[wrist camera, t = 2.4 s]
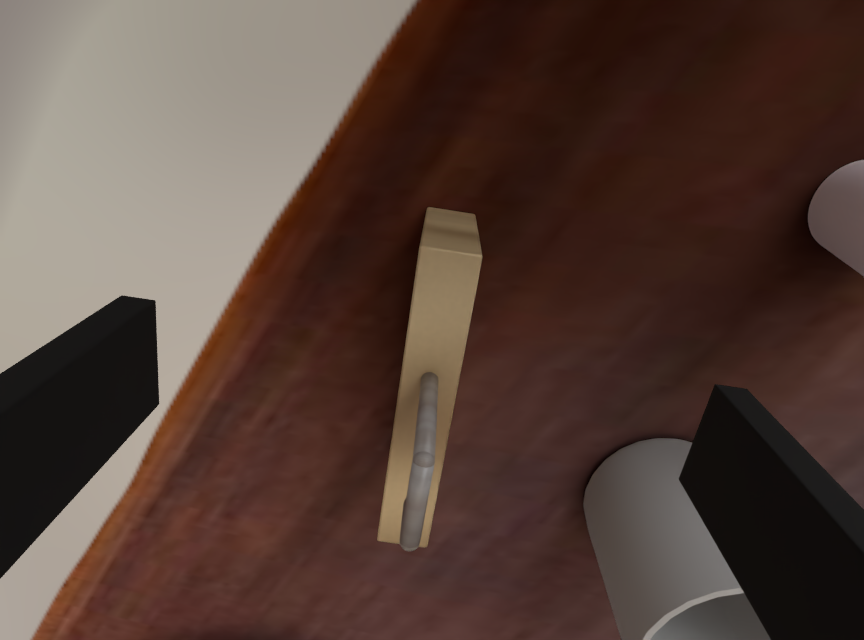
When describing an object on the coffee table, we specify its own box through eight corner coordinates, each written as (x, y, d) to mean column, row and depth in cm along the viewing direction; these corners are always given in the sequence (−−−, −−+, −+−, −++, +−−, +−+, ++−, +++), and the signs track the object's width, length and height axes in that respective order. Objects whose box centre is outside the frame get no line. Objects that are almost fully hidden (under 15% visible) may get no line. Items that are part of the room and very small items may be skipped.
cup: (578, 439, 27) (633, 593, 19) (797, 421, 27) (952, 574, 18) (581, 555, 30) (631, 734, 22) (780, 542, 29) (908, 721, 21)
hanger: (427, 206, 23) (408, 300, 13) (475, 213, 23) (493, 313, 13) (391, 450, 28) (357, 655, 18) (432, 456, 28) (421, 663, 18)
